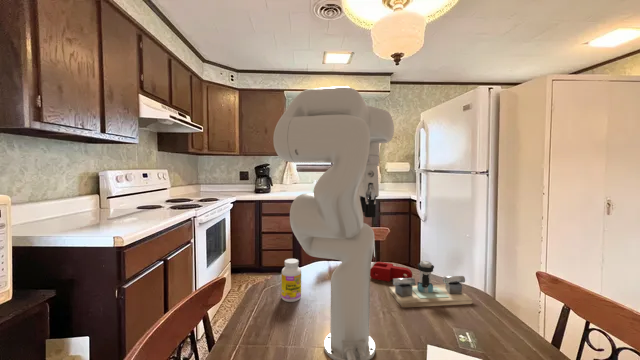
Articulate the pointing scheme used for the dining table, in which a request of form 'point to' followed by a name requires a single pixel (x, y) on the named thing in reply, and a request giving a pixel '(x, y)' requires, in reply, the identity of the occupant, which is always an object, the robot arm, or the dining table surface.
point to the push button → (425, 277)
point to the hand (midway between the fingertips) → (366, 214)
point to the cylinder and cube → (405, 287)
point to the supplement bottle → (291, 281)
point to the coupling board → (431, 297)
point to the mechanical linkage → (388, 272)
